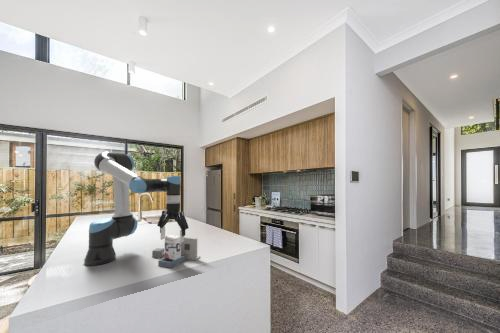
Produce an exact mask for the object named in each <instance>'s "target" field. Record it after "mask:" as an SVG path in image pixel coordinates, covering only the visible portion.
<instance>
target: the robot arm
mask: <svg viewBox="0 0 500 333" xmlns="http://www.w3.org/2000/svg"><path fill="white" fill-rule="evenodd" d="M93 160H94V162H93V163H94V166H95V168H96V169H97V170H99V171H100V172H102V173H104V174H108V175H110V176H112V179H113V201H114V202H113V204H114V214H113V215H112V216H111V217H107V218H106V217H105V218H100V219H97V220H93V221H92V222H91V223H90V224H89V228H88V249H87V252H86V255H85V257H84V260H83V261H84V262H83V263H84V265H85V266H89V267H90V266H101V265H104V264H108V263H111V262H113V261H115V260H116V258H117V257H116V255H117V254H116V250H115V249H114V246H113V243H114V242H113V240H116V239H120V238H123V237H128V236H131V235H132V234H134V233H135V232H136V230H137V227H138V219H136V218H137V217H135V216H134V215H133V213H132V212H131V206H130V192H131V193H133V194H144V193H161V192H162V193H166V204H165V209H166V210H162V211H161V215H160V218H159V220H158V223H157V224H156V225H157V227H159V233H160V240H161V241H163V240H165V237H166V225H167V224H168V222H169V220H175V222H176V223H177V225H178V226H179V229H180V230H179V236H180V242H183V241H184V237H186V230H188V229H189V224H188V220H187V219H186V216H185V211H180V210H181V188H182V187H181V186H182V182H181V181H182V179H181V176H180V175H167V176H166V178H144V177H142V176H141V175H139V174H137V173H135V172H134V171H133V170H134V168H135V160H134V158H133V156H131V155H130V154H126V153H123V152H111V151H104V152H100V153H98V154H97V155H96V156H95V158H94V159H93Z"/></svg>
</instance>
